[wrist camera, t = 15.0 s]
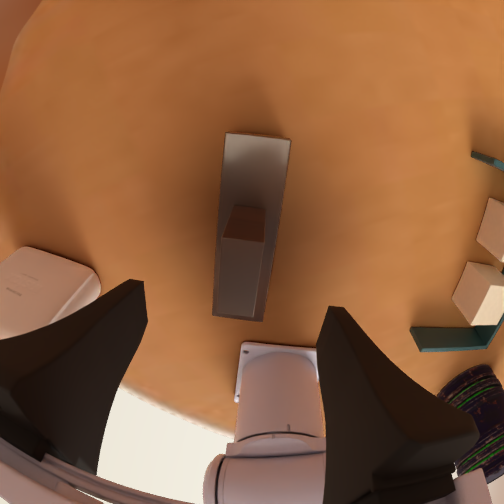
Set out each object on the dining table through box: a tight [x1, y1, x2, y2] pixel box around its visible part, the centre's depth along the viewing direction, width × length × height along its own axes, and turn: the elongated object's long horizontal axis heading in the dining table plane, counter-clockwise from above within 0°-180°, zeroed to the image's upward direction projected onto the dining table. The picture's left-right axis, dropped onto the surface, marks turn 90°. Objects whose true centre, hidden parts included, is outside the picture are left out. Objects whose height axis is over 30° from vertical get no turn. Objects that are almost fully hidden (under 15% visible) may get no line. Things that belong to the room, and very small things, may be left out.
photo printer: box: [0, 247, 101, 340], centre depth 18 cm, size 10×4×12 cm, turn 76°
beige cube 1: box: [452, 262, 504, 325], centre depth 20 cm, size 4×4×4 cm
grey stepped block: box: [212, 131, 291, 322], centre depth 17 cm, size 12×4×8 cm, turn 174°
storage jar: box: [437, 364, 504, 484], centre depth 22 cm, size 10×10×15 cm
